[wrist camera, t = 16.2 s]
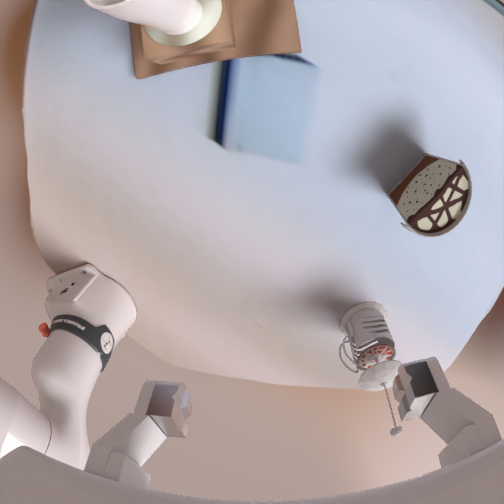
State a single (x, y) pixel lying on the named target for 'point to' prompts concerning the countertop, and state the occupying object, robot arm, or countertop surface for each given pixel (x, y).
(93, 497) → the robot arm
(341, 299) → the countertop surface
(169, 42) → the walnut display stand
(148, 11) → the drinking glass
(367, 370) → the french press
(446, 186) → the food container
